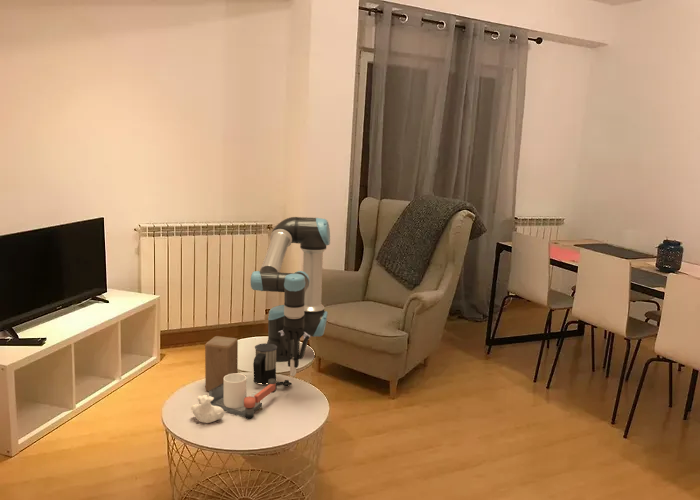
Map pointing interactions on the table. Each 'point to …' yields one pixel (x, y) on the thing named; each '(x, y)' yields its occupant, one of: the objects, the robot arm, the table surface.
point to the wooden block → (220, 360)
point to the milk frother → (266, 364)
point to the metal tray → (242, 411)
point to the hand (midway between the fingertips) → (293, 374)
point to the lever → (260, 394)
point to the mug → (234, 390)
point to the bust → (207, 410)
